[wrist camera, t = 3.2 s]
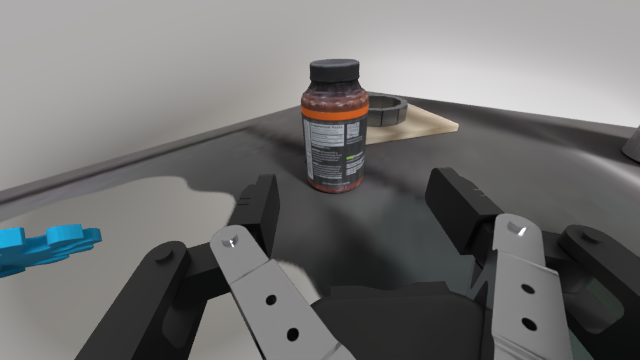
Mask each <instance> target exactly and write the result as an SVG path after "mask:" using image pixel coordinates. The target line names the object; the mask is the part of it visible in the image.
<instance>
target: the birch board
mask: <svg viewBox="0 0 640 360" xmlns="http://www.w3.org/2000/svg"><path fill="white" fill-rule="evenodd" d="M458 126H459V124H457V123H454V122H452V121H449V120H447V119H445V118H442V117H440V116H437V115H435V114H433V113H430V112H428V111H425V110H423V109H421V108H418V107H416V106H413V105H411V104H409V103H408V107H407V113H406V118H405V121H403V122H402V123H400V124H398V125H394V126H386V127H367V134H366V145H367V144H373V143H380V142H387V141H393V140H400V139H407V138H413V137H420V136H426V135H433V134H440V133H446V132H453V131H457V129H458Z"/></svg>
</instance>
